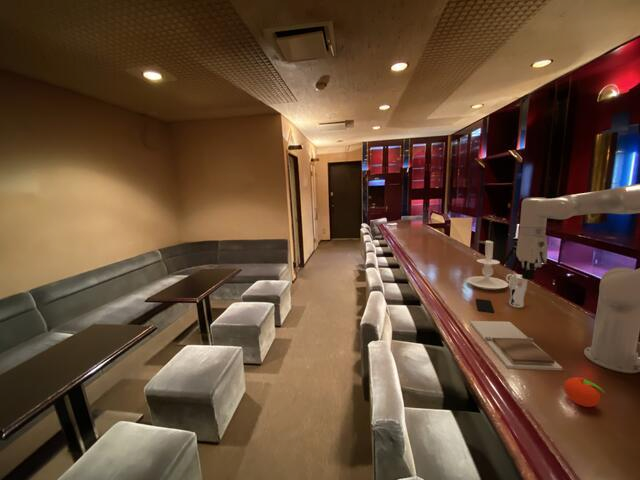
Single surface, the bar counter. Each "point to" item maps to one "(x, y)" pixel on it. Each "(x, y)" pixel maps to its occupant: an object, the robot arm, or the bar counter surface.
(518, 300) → the beer glass
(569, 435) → the bar counter surface
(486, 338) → the plaque base
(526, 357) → the flip plaque
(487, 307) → the smartphone
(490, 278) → the candlestick
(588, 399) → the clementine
